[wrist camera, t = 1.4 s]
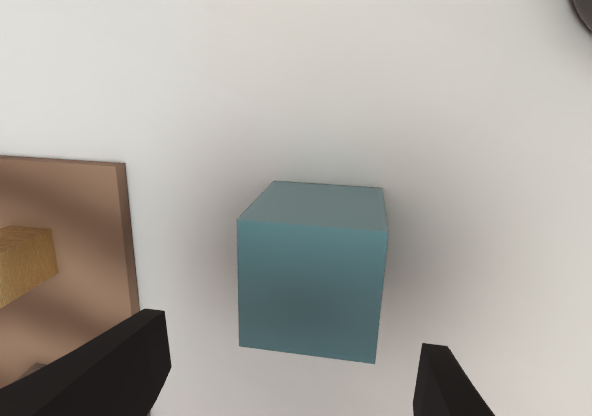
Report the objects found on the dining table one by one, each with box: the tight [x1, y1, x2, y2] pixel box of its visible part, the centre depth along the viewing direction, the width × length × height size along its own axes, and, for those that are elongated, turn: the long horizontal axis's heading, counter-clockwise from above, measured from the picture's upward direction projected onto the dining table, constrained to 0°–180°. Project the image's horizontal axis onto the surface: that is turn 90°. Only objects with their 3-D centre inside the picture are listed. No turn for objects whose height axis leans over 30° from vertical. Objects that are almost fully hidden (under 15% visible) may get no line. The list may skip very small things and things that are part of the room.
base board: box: [0, 156, 150, 416], centre depth 24 cm, size 19×11×1 cm, turn 178°
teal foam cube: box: [237, 181, 388, 364], centre depth 17 cm, size 5×5×6 cm
